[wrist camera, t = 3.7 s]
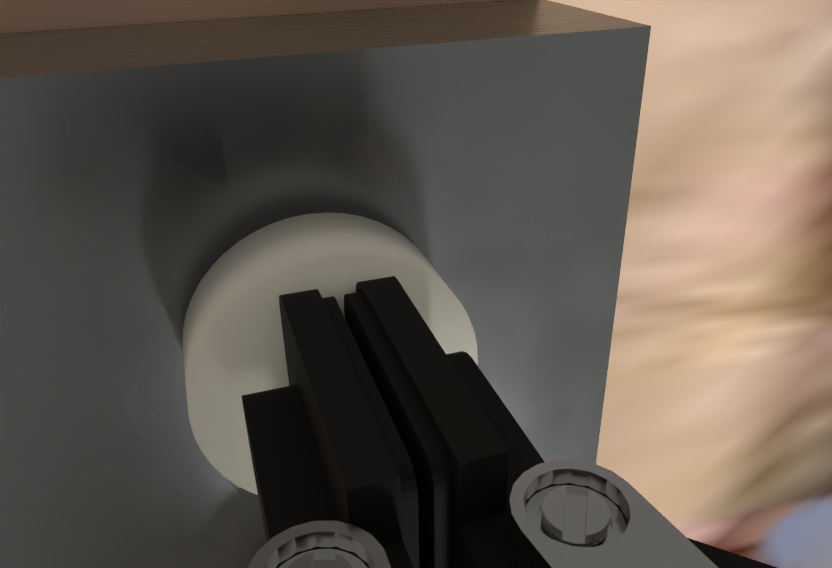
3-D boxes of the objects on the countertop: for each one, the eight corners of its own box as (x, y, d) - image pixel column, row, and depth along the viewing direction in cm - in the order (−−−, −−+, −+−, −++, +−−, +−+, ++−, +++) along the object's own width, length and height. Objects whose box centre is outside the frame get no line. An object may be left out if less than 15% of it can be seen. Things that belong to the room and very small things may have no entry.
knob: (397, 333, 16) (475, 467, 13) (195, 371, 15) (212, 532, 11) (389, 143, 14) (480, 233, 10) (156, 170, 13) (160, 283, 9)
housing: (508, 563, 23) (569, 674, 20) (111, 678, 20) (104, 833, 17) (540, -2, 15) (650, 25, 12) (-109, 40, 12) (-205, 95, 9)
